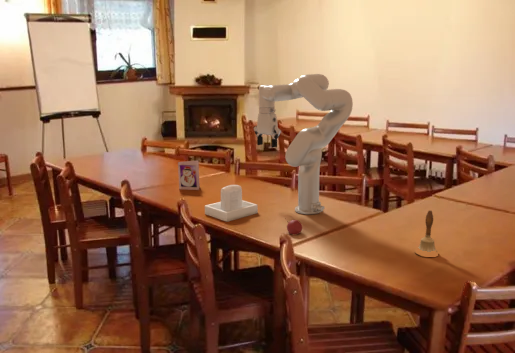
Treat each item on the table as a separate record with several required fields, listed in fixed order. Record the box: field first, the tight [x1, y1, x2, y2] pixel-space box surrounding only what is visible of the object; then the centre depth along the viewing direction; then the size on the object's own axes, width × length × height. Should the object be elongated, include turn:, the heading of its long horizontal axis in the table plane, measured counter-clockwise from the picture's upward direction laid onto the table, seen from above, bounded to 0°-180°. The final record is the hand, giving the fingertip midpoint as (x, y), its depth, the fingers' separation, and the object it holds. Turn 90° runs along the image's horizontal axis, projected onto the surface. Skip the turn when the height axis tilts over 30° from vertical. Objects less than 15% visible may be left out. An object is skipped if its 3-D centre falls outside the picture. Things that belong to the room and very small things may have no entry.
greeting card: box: [177, 160, 201, 191], centre depth 278 cm, size 11×7×15 cm, turn 76°
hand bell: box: [417, 210, 437, 252], centre depth 180 cm, size 8×8×16 cm
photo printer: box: [220, 184, 243, 212], centre depth 231 cm, size 10×4×12 cm, turn 126°
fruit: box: [284, 218, 303, 235], centre depth 206 cm, size 6×6×8 cm
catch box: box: [204, 199, 259, 222], centre depth 232 cm, size 16×18×4 cm
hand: (267, 145), depth 249 cm, fingers open, 9 cm apart
